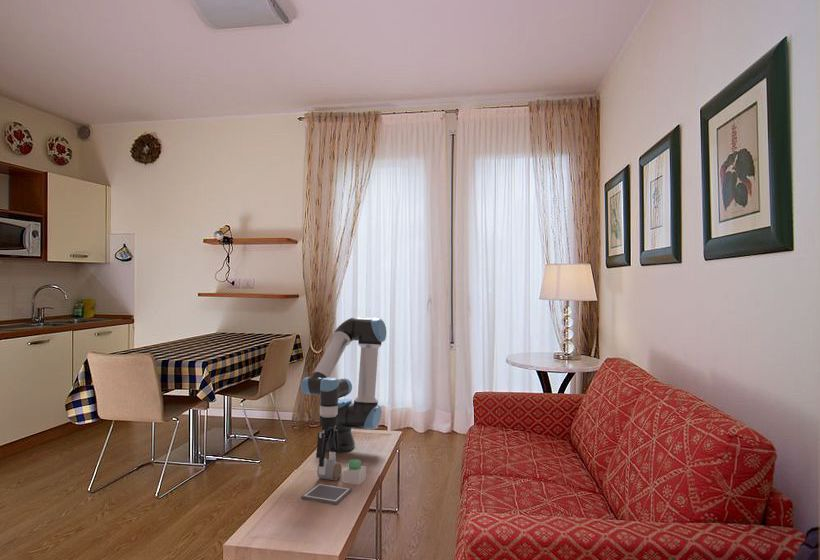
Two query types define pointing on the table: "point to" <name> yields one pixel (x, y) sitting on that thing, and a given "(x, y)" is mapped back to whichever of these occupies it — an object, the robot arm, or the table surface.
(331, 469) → the ceramic mug
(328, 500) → the mat
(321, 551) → the table surface
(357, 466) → the button
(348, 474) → the button box
